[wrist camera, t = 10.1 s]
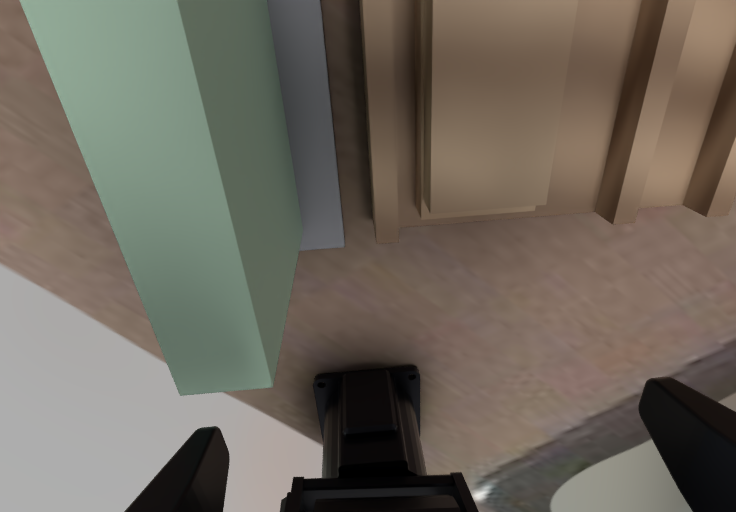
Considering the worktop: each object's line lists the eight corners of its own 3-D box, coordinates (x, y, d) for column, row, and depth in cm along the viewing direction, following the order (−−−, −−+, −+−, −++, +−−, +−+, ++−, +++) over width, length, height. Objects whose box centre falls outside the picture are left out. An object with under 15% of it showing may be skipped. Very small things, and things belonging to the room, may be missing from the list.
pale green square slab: (303, 230, 20) (273, 387, 11) (251, 234, 20) (180, 395, 11) (264, -17, 15) (156, -84, 6) (195, -12, 15) (-10, -71, 6)
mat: (344, 241, 21) (344, 246, 20) (216, 251, 21) (213, 257, 20) (315, -48, 15) (314, -51, 15) (138, -36, 15) (131, -39, 14)
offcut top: (530, 191, 18) (545, 204, 16) (423, 200, 17) (430, 213, 16) (566, -75, 13) (591, -86, 12) (424, -66, 13) (433, -76, 12)
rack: (687, 195, 21) (727, 215, 19) (373, 221, 20) (376, 244, 18) (790, -114, 15) (867, -139, 13) (354, -85, 15) (356, -106, 13)
